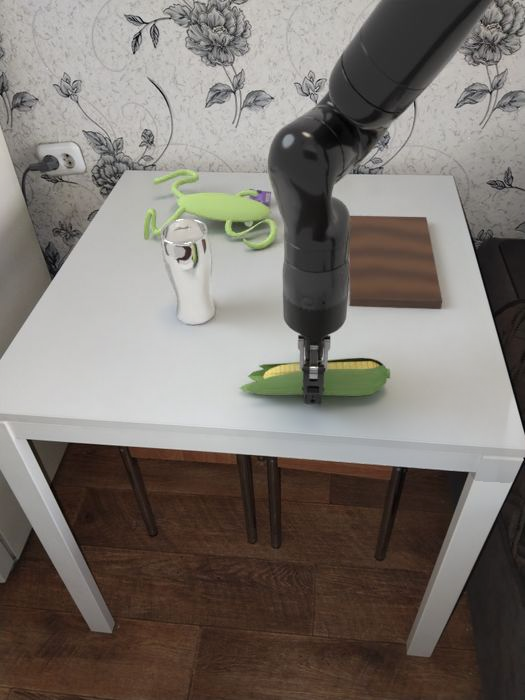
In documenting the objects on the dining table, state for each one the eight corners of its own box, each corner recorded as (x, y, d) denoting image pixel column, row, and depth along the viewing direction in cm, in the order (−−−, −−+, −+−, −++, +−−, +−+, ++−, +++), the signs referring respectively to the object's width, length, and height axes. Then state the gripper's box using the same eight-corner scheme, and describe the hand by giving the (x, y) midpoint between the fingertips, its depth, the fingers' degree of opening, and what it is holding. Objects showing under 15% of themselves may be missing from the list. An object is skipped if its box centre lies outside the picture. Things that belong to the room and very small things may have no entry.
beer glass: (216, 326, 90) (206, 244, 80) (171, 327, 90) (155, 245, 80) (219, 297, 95) (210, 216, 84) (176, 298, 95) (162, 217, 85)
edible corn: (390, 401, 77) (394, 377, 74) (238, 405, 78) (235, 381, 75) (384, 372, 81) (387, 349, 78) (239, 376, 82) (237, 353, 79)
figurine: (165, 188, 121) (160, 163, 117) (292, 200, 116) (292, 174, 112) (129, 238, 108) (123, 211, 104) (270, 254, 103) (269, 226, 99)
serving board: (440, 308, 91) (442, 301, 90) (349, 305, 92) (350, 298, 91) (425, 224, 108) (426, 216, 107) (348, 222, 109) (348, 215, 108)
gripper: (350, 328, 62) (342, 429, 74) (346, 250, 72) (339, 350, 84) (279, 327, 63) (282, 427, 75) (285, 250, 73) (287, 349, 85)
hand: (312, 386), depth 79 cm, fingers closed on edible corn, 5 cm apart
